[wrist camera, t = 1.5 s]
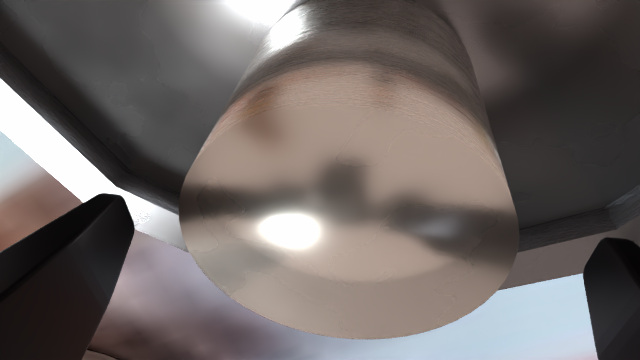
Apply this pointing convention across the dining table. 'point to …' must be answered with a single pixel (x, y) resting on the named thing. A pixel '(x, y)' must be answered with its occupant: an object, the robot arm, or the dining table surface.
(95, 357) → the can
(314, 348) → the dining table surface
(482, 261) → the cover
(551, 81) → the curvy grey metal tray
